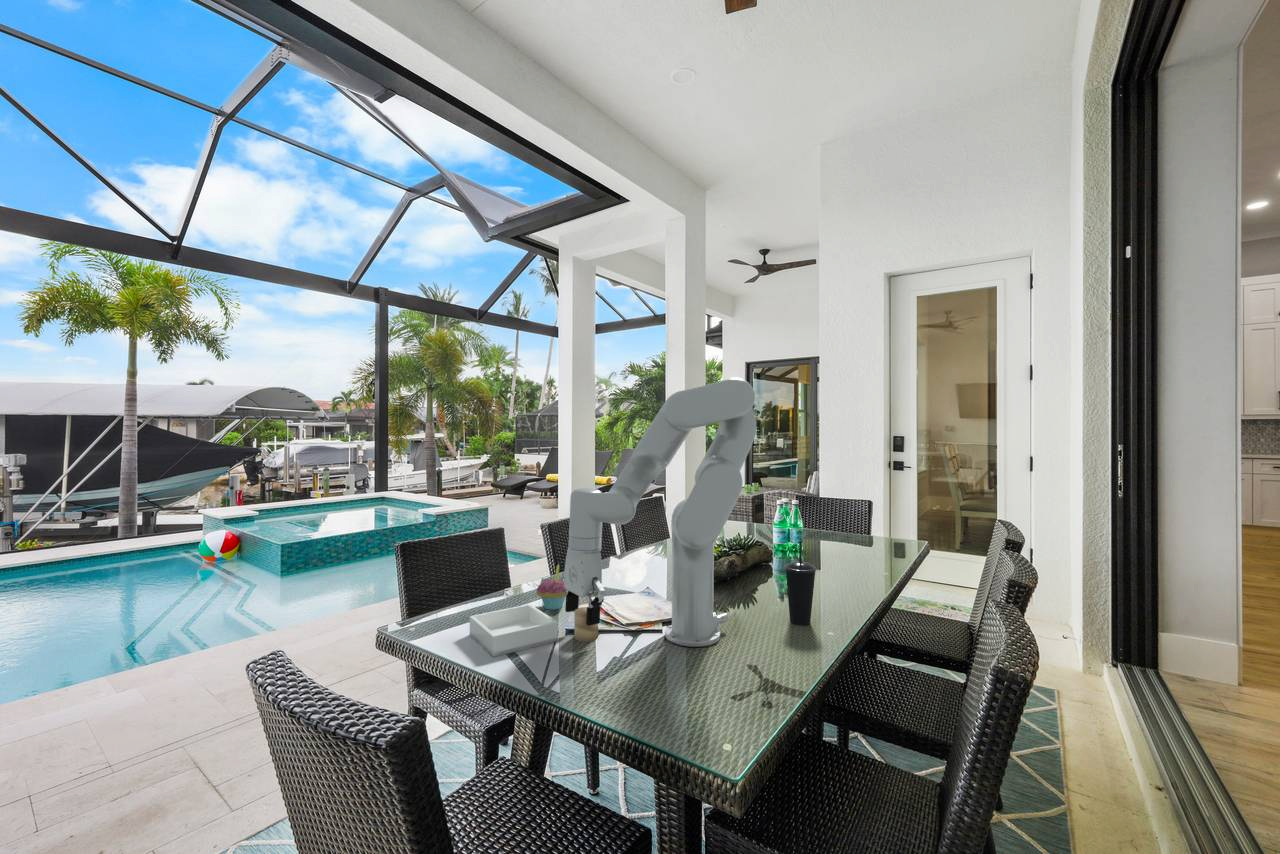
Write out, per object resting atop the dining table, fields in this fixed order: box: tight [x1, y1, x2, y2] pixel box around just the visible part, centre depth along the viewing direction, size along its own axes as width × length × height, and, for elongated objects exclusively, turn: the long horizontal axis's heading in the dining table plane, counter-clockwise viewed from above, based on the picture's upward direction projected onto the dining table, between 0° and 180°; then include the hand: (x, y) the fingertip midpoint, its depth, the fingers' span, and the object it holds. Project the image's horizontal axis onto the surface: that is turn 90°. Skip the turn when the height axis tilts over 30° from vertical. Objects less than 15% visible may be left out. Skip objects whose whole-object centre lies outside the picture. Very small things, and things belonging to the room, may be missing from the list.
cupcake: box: [536, 562, 568, 610], centre depth 148 cm, size 9×8×12 cm
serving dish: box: [469, 603, 559, 658], centre depth 127 cm, size 15×15×4 cm
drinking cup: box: [783, 540, 817, 626], centre depth 138 cm, size 8×8×20 cm
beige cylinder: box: [573, 606, 599, 643], centre depth 128 cm, size 5×5×6 cm
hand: (582, 617), depth 128 cm, fingers open, 9 cm apart
